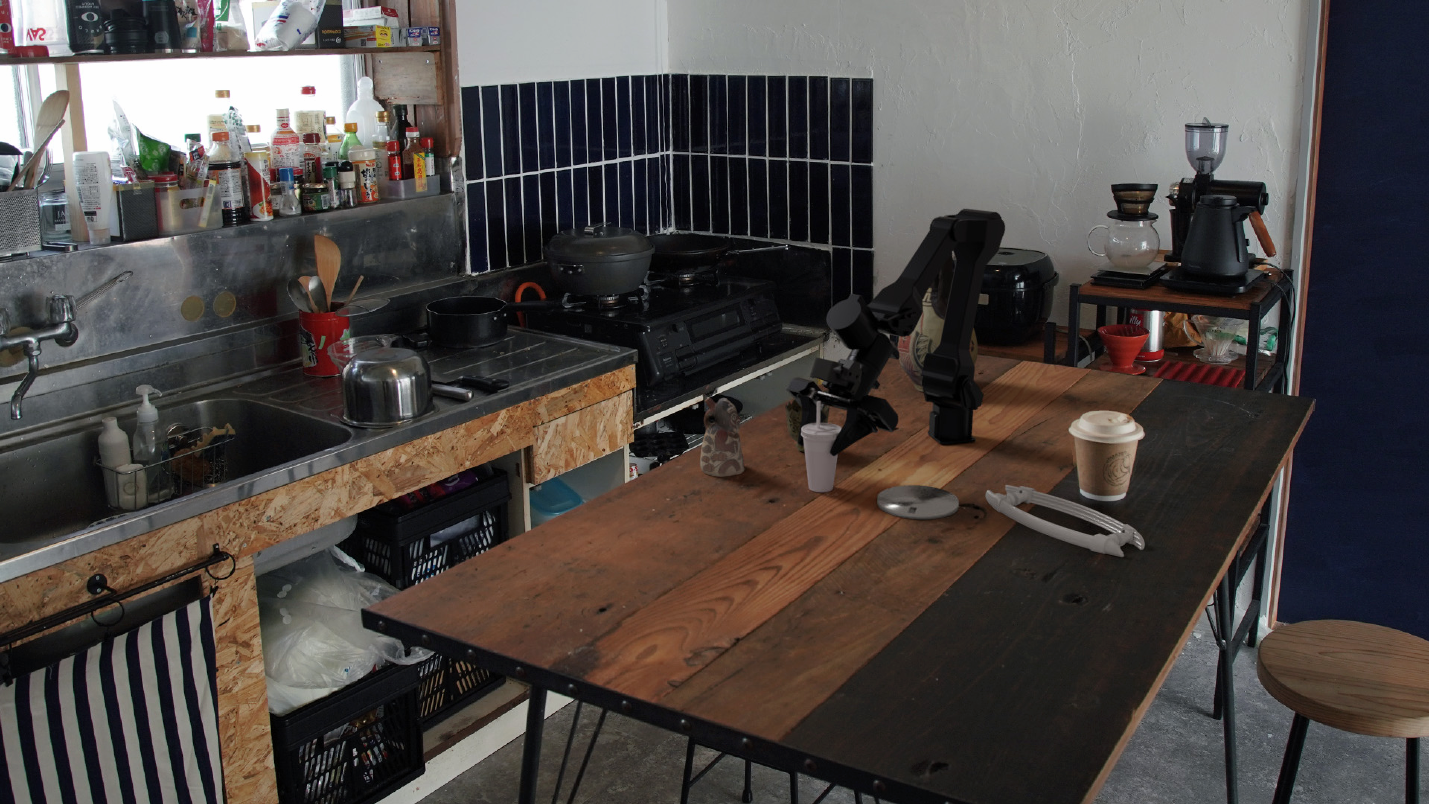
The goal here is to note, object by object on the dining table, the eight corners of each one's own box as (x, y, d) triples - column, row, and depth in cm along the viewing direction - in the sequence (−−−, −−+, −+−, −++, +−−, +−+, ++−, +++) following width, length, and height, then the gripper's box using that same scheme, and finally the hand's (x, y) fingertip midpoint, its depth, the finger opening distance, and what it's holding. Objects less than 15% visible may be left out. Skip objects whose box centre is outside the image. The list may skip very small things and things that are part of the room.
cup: (829, 443, 212) (830, 398, 210) (828, 457, 205) (829, 411, 203) (785, 442, 213) (786, 397, 211) (783, 456, 206) (784, 410, 204)
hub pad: (885, 486, 192) (885, 481, 192) (963, 494, 188) (964, 490, 188) (869, 514, 181) (869, 509, 181) (952, 523, 178) (952, 518, 177)
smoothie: (797, 481, 195) (798, 396, 191) (837, 480, 195) (839, 394, 191) (803, 496, 188) (804, 408, 184) (845, 494, 189) (847, 406, 185)
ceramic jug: (887, 379, 251) (892, 232, 242) (962, 376, 252) (969, 230, 244) (909, 403, 235) (915, 246, 226) (988, 400, 236) (997, 244, 227)
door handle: (1018, 494, 190) (1155, 547, 170) (972, 508, 185) (1108, 564, 165) (1019, 478, 189) (1157, 529, 169) (973, 491, 184) (1109, 546, 164)
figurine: (735, 479, 196) (735, 406, 193) (693, 474, 198) (692, 402, 195) (750, 464, 202) (750, 394, 199) (709, 459, 205) (708, 390, 201)
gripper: (794, 327, 194) (745, 409, 190) (889, 347, 181) (838, 436, 177) (827, 366, 202) (780, 446, 197) (919, 388, 189) (872, 474, 185)
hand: (815, 449), depth 189 cm, fingers closed on smoothie, 6 cm apart
